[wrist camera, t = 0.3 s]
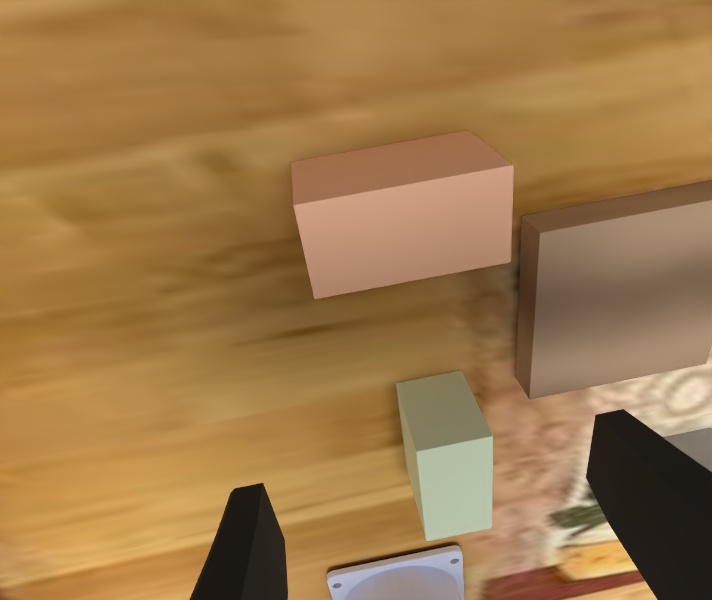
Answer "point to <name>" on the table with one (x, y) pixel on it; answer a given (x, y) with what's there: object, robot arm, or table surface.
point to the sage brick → (447, 454)
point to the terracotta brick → (403, 212)
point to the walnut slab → (615, 290)
